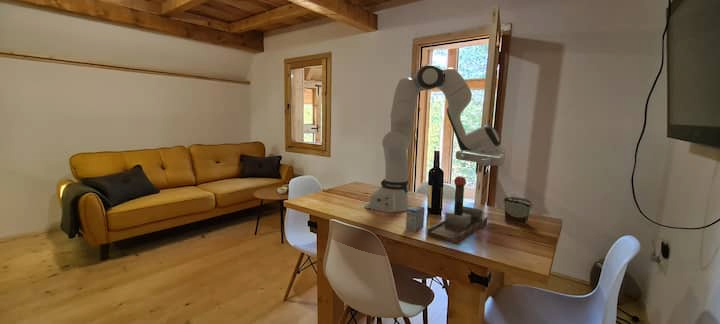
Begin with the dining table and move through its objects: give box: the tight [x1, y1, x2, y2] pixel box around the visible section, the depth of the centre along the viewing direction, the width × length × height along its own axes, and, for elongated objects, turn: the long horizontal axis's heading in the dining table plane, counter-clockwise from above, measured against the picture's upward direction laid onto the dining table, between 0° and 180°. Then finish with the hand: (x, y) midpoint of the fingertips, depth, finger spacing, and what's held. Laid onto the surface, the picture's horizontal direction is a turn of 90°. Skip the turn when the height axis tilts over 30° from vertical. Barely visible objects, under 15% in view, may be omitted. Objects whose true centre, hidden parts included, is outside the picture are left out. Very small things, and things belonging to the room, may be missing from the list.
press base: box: [426, 205, 488, 246], centre depth 126 cm, size 30×12×7 cm, turn 138°
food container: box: [502, 196, 533, 226], centre depth 138 cm, size 12×6×10 cm, turn 34°
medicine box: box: [405, 204, 425, 232], centre depth 127 cm, size 8×4×9 cm, turn 145°
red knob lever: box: [444, 175, 471, 229], centre depth 124 cm, size 4×9×20 cm, turn 48°
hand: (471, 159), depth 132 cm, fingers open, 8 cm apart
